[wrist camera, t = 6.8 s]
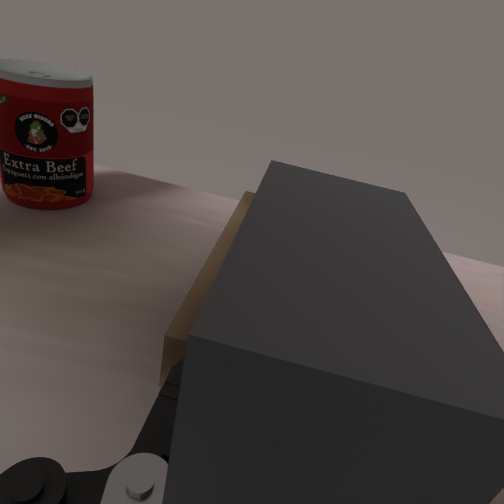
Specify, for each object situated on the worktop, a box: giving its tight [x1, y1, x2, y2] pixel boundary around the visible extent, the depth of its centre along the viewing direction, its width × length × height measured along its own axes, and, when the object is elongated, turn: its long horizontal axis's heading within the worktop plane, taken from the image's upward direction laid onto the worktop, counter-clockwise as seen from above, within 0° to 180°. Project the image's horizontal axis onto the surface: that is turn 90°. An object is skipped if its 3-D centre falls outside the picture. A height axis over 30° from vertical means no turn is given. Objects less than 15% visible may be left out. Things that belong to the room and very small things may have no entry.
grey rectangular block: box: [162, 161, 504, 504], centre depth 9 cm, size 3×6×14 cm, turn 170°
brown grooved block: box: [159, 191, 256, 387], centre depth 28 cm, size 13×22×4 cm, turn 170°
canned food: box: [0, 59, 94, 209], centre depth 34 cm, size 8×8×11 cm
